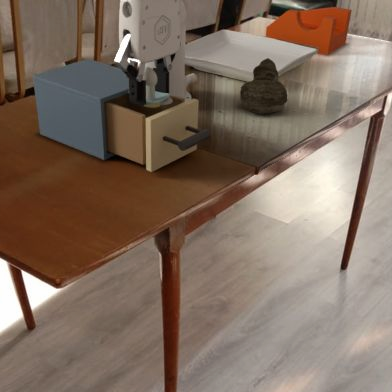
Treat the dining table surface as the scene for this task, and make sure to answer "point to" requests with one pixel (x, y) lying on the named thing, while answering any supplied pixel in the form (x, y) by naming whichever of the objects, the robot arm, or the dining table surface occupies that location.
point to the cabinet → (78, 103)
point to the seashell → (264, 90)
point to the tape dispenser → (313, 28)
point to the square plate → (243, 54)
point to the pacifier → (151, 95)
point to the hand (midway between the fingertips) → (149, 97)
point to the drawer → (153, 130)
